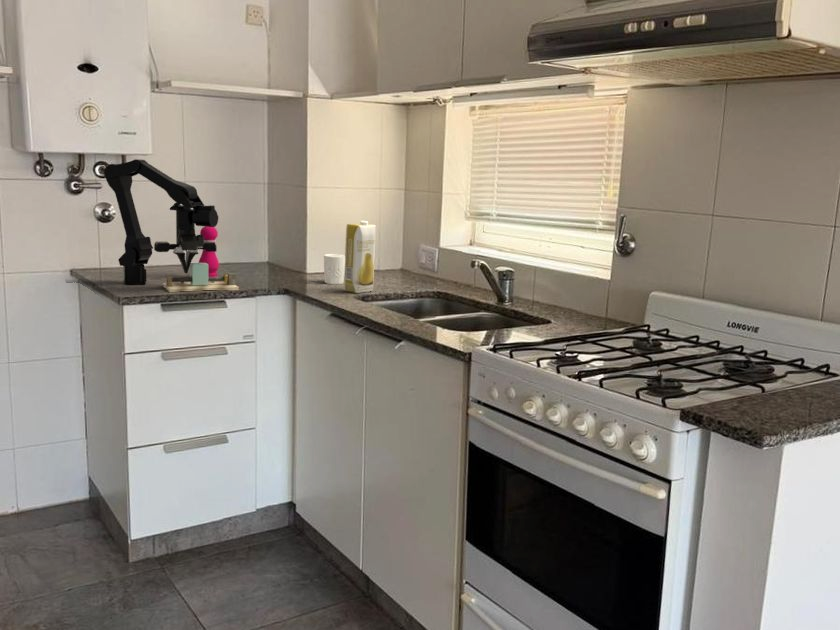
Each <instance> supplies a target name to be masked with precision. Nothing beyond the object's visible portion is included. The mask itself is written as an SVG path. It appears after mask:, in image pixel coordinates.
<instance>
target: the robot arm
mask: <svg viewBox="0 0 840 630" xmlns="http://www.w3.org/2000/svg"><path fill="white" fill-rule="evenodd" d="M137 175H140V176H142V177H143V178H145V179H146V180H148V181H150V182H151V183H153V184H154V185H156V186H158V187H159V188H161V189H162V190H164V191H165V192H166V194H167V195H168V196H169V198H171V199H172V200H173V201H174V204H172V206H171V207H169V211H175V227H176V228H175V231H176V232H175V233H176V235H175V237H176V239H175V241H176V243H170V242H168V241H155V242H154V243H153V244H154V245H153V246H152V241H151V237H150V236H145V235H144V234H143V231H142V230H141V225H140V221H139V217H138V214H137V210H136V205H135V202H134V199H133V194H132V191H131V189H132V184H133V177H134V176H137ZM103 176H104V178H105V180H106V183H107V185H108V186H109V187H110V189H111V190H112V191H113V192H114V194H115V198H116V201H117V206H118V211H119V212H120V216H121V219H122V223H123V228H124V231H125V241H124V253H123V254H122V255H121V256H119V258H118V260H117V261H118V263H119V266H120V267H121V266H122V267H123V279H122V282H123V284H124V285H146V284H147V269H146V268H145V265H147V264H148V263H149V259H150V258H151V256H152V255H153V250H154V251H155V252H156V253H168V252H169V251H170V250H173V251H172V253H173V255H174V254H175V255H176V256H177V258H178V260H179V262H180V265H181V267H182V270H183V273H184V274H188V272H189V270H190V264H191V263H192V261H193V259H194V257H195V256H196V255H199V252H198V251H199V250H202V251H203V250H206V251H207V252H215V253H217V243H216V244H215V243H214V242H212V241H204V236H203V235H200V234H196V228H195V225H196V226H197V227H214V228H216V226H217V225H218V223H219V215H218V212H217V209H216V208H215V207H216V206H215V205H211V204H210V205H205V204H204V202H203V201H202V199H201V198H200V196H199V195H198V192H197V189H196V188H195V186H194V185H191V184H189V183H186V182H182V181H179V180H176V179H174V178H173V177H170V176H169V175H168V174H166V173H164V172H163V171H162V170H160V169H158V168H156V167H154V166H153V165H151V164H150V163H148V161H146V160H145V159H133V160H130V161H127V162H122V163H121V162H120V163H110V164H107V165H106V166H105V168H104V170H103ZM184 251H185V252H184Z"/></svg>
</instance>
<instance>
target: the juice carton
mask: <svg viewBox="0 0 840 630" xmlns="http://www.w3.org/2000/svg"><path fill="white" fill-rule="evenodd" d="M344 250H345V251H344V255H345V274H344V283H343V284H344V291H346V292H349V293H355V294H360V293H361V294H362V293H370V291H371V292H373V291H374V280H375V279H374V278H375V277H374V276H375V258H376V257H375V253H376V225H375V224H371V223H369V221H367V220H360V223H348V224H347V223H346V228H345V249H344Z"/></svg>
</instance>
